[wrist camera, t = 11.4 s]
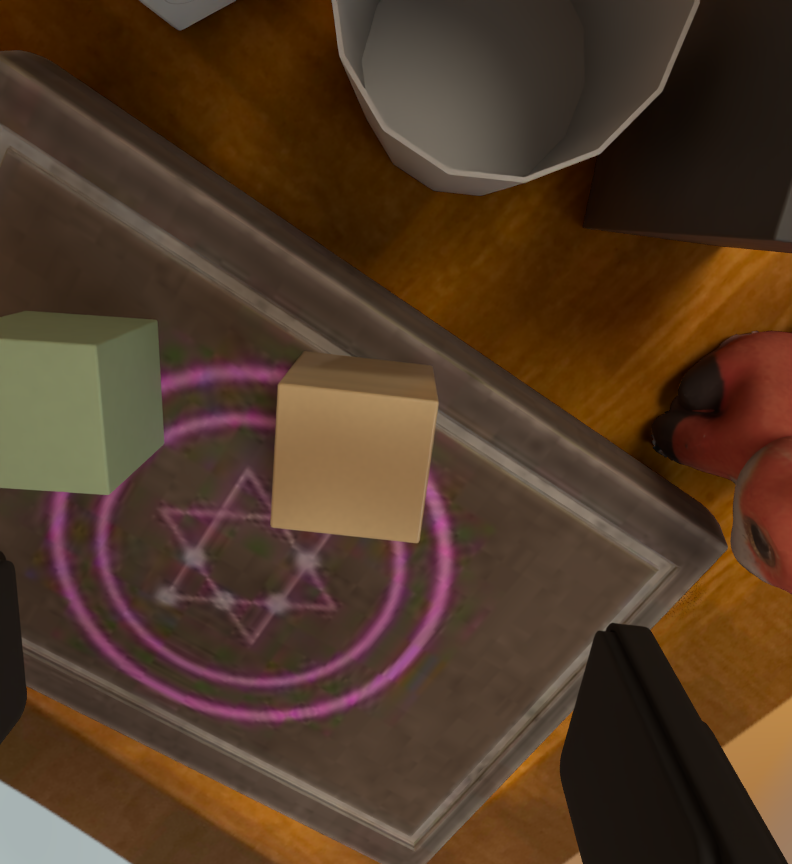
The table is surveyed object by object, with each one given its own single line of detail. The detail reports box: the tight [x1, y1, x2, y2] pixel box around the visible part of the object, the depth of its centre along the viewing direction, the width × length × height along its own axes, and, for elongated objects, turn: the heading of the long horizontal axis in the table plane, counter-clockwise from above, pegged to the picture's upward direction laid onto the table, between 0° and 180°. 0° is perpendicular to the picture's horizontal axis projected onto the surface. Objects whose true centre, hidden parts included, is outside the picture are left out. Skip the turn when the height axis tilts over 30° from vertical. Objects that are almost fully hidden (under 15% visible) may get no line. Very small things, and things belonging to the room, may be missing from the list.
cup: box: [332, 0, 700, 196], centre depth 19 cm, size 8×8×10 cm
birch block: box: [270, 351, 439, 543], centre depth 21 cm, size 5×5×5 cm
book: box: [0, 50, 728, 864], centre depth 27 cm, size 30×22×5 cm
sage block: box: [0, 311, 164, 495], centre depth 20 cm, size 5×5×5 cm
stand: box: [583, 0, 792, 253], centre depth 18 cm, size 7×6×14 cm
